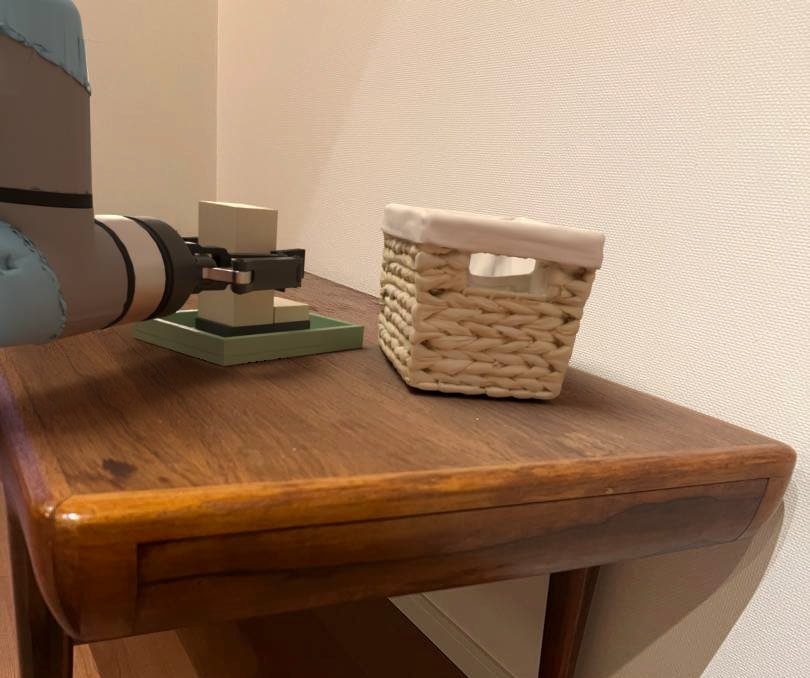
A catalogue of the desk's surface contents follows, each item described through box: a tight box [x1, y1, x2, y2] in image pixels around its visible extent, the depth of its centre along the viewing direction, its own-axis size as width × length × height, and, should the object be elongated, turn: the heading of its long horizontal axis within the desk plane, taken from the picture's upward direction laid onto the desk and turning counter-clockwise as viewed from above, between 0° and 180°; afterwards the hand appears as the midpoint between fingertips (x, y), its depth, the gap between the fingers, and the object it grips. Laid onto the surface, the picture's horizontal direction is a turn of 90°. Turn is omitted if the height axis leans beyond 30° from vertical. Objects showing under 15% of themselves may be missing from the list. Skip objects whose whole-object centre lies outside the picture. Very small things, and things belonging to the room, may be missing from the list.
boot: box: [195, 200, 310, 338], centre depth 76 cm, size 11×5×12 cm, turn 144°
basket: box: [377, 202, 606, 400], centre depth 75 cm, size 24×16×15 cm
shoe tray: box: [132, 309, 365, 367], centre depth 79 cm, size 13×20×2 cm, turn 144°
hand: (258, 256), depth 78 cm, fingers open, 8 cm apart
